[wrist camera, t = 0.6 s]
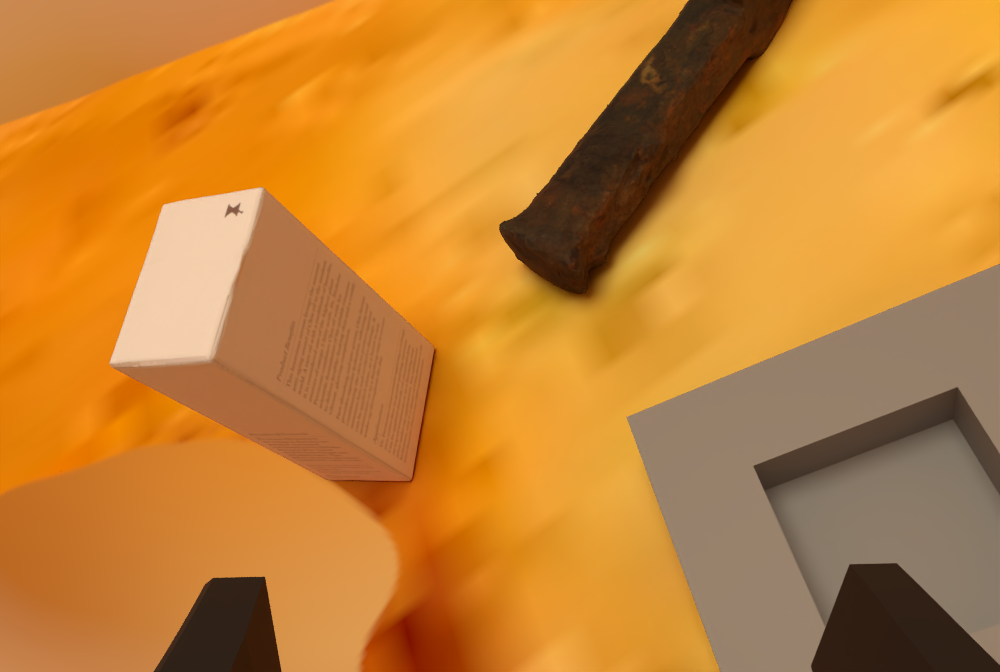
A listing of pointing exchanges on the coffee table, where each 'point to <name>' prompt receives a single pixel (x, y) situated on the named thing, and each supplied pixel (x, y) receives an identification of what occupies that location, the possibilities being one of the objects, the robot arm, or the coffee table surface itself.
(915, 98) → the coffee table surface
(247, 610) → the robot arm
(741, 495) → the socket stand
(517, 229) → the hand tool
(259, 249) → the skincare box
